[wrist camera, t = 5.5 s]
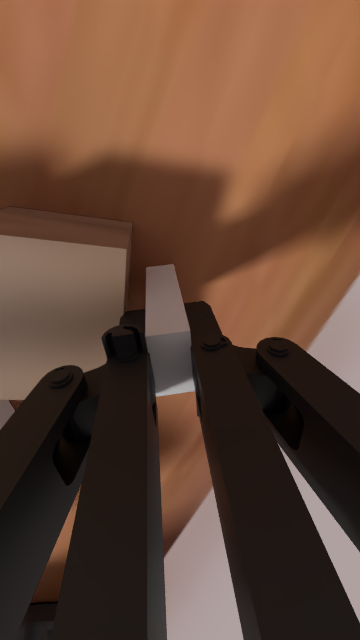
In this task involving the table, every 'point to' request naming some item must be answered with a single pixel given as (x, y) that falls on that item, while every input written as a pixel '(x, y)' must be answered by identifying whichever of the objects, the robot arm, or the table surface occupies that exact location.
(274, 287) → the table surface
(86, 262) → the walnut block
